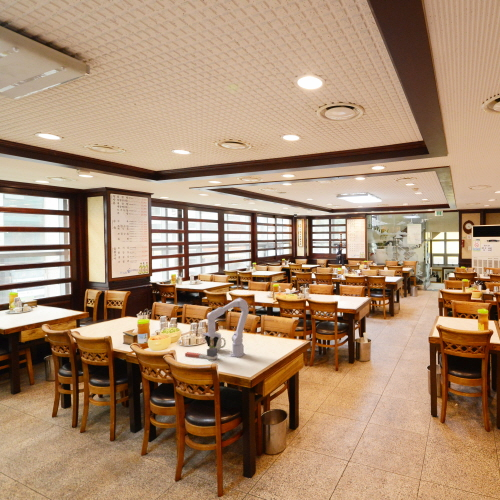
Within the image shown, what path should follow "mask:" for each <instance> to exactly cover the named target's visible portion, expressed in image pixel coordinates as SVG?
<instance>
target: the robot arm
mask: <svg viewBox="0 0 500 500" xmlns="http://www.w3.org/2000/svg"><path fill="white" fill-rule="evenodd" d="M248 304H249V303H248V302H247V300H246V299H243V298H242V297H237V298H235V299H234V300H233V301H231V302H229V303H228V304H226V305H224V306H223V307H222V306H220V307H219V306H218V307H217V308H215V309H214V310H212V311H211V312H210V311H209V312H208V313H207V315H206V319H207V332H208V333H206V332H203V333H202V337H204V339H205V343H206V344H207V347H209V346H210V337H215V338H213V340H214V347H216V345H217V341H218V339H219V338H220V337H221V338H222V334H221V335H219V334H216V333H215V332H216V319H217V318H219V317H220V316H222V315H224V314H225V312H227V311H228V310H230V309H232V308H235V307H236V308H239V309H240V311H241V313H240V316H239V319H238V322H237V327H236V330H235V331H234V333H233V334H232V336H231V341H232V354H231V355H230V357H234V358H241V357H242V356H244V355H245V352H244V351H245V350H244V344H243V339H244V338H243V337H244V335H243V332H244V329H245V325H246V322H247V318H248V315H249V311H250V309H249V306H248Z"/></svg>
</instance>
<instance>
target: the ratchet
mask: <svg viewBox="0 0 500 500" xmlns="http://www.w3.org/2000/svg"><path fill="white" fill-rule="evenodd" d="M184 355H185V356H184V357H189V358H195V359H196V358H197V359H205V360H207V361H210V360H213V361H216V360H218V354H217V355H216V356H215V357H209V356H207V354H204V353H199V352H198V353H197V352H191V351H190V352H189V351H187V352H185V353H184Z"/></svg>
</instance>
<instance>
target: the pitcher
mask: <svg viewBox="0 0 500 500" xmlns="http://www.w3.org/2000/svg"><path fill="white" fill-rule="evenodd" d="M205 333H208V331H207V332H205ZM215 333H216V334H219V335H221V337H220V338H219V339H218V341H217V345H216V347H214V340H213V338H215V337H210V346H208V349H209V348H217V352H218V351H220V349H222V348H224V347H225V346H226V344H227V343H226V342H227V340H226V339H225V338H224V336H222V333H221V332H216V331H215ZM222 340H223V345H222Z"/></svg>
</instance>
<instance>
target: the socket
mask: <svg viewBox="0 0 500 500" xmlns="http://www.w3.org/2000/svg"><path fill="white" fill-rule="evenodd" d="M206 355H207V356H209V357H215V356H216V355H218V351H217V348H209V347H208V349H206Z"/></svg>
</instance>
